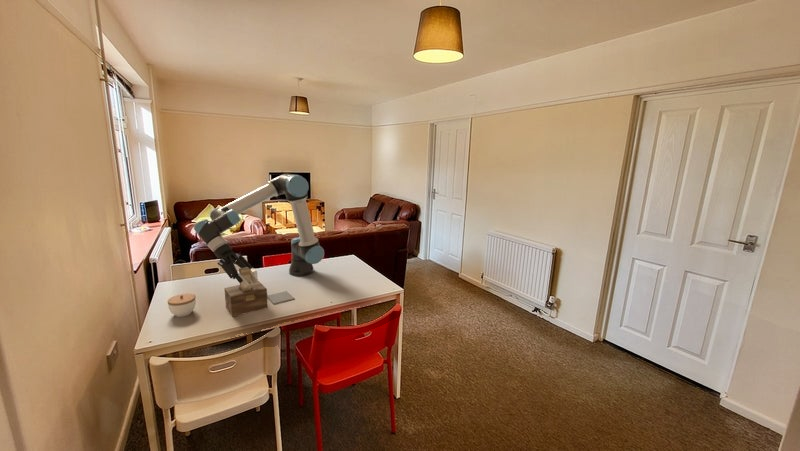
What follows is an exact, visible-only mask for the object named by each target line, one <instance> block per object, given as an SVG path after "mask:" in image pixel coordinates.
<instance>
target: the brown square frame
mask: <svg viewBox="0 0 800 451" xmlns="http://www.w3.org/2000/svg"><path fill="white" fill-rule="evenodd" d="M223 289H224V301H225V308H226V310H227V311H228V313H229V314H230V316H231V317H237V316H241V315H244V314H248V313H253V312H256V311H259V310H264V309H267V308H268V298H267V296H268V294H267V293H268V288H266V287H265V285H264V284H262V283H261V282H260V280H258V281H257V282H256V283H253V282H252V283H251V290H246V291H242V292H241V290H240V284H239V285H238V284H237V285H233V286H227V287H224V288H223Z"/></svg>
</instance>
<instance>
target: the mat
mask: <svg viewBox="0 0 800 451" xmlns="http://www.w3.org/2000/svg"><path fill="white" fill-rule="evenodd" d="M267 300H269V301H270V303H271V304H272V305H279V304H281V303H286V302H288V301H293V300H295V297H294V296H293V295H292V294H291V293H289V292H288V291H287V290H286V291H282V292H281V291H280V292H278V293H272V294H269V295H268V294H267Z"/></svg>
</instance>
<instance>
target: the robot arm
mask: <svg viewBox="0 0 800 451" xmlns="http://www.w3.org/2000/svg"><path fill="white" fill-rule="evenodd" d="M309 189H310V188H309V182H308V181H307V179H306V178H305V177H303V176H302V175H300V174H294V173H293V174H292V173H282V174H280V175H279V176H276V177H274V178H272V179H270V180H269V181H267V182H266V184H265V185H263V186H260V187H258V188H257V189H255V190H253V191H251V192H249V193H248V194H246V195H243V196H241V197H239V198H237V199H235V200H234V201H232V202H229V203H228V204H226V205H223V206H221V207H218V208H217V207H216V208H214V209H212V210H211V211H210V212H209V218H210V219H211V220H209V219H208V218H207V219H201V220H199V221H198V222H197V223H195V224H194V226H193V230H194V231H195V233H196V235H198V237H199V238H200V239H201V240H202V241H203V242H204V244H205V245H206V246H207V247H208V248H209V249H210V250H211V251H212V252H213V254H214V255H215V256H216V257H217V259H220V260H218V261H217V265H219V267H221V268H222V270H223V271H224V272H225V273H226V275H227V276H228V277H229V279H233V280H236V281H237V282H238V283H239V284H240V283H241V284H242V285H243V286H244V287H245V288H247V287H248V286H249V285H250V284H249V283H248V282H247V281H246V280H245V279H244V277H243V276H242V275H241V274H240V275H239V271H238V270H237V267H239V268H245V267H248V268H249V269H250V275H251V280H252V282H253V283H256V282H257V281H259V279H258V277H257V278H256V277H255V275H254V273H253V272H252V271H251V268H253V266H252V264H251V263H250V262H249V261H248V260H247V259H246V258H245V256H243V254H242V252H241V251H240V252H238V253H236V252H234V251H233V247H232V246H231V245H230V244H229V243H228V241H227V240H226V238H224V237H223V236H222V235H221V234H222V233H224V232H226V231H227V230H229V229H231V228H232V227H234V226H236V225H237V224H238V223H240V222H241V217H240V215H241V214H243V213H245V212H246V211H248V210H250V209H252V208H254V207H256V206H258V205H260V204H261V203H263V202H265V201H268V200H269V199H271V198H274V197H279V196H281V195H285V199H286V201H287V202H289V204H290V206H291V210H292V213H293V218H294V220H295V221H294V222H295V224H296V229H297V232H298V236H297V237H293V238H291V243H290V246H291V247H290V248H291V262H290V265H289V270H288V274H289V275H291V276H294V277H304V276H309V275H311V274H313V273H315V272H314V266H313V265H316V264H318V263H320V262H322V260H323V258H324V256H325V250H324V248H323V247H322V246H321V245H320V242H319V238H317V237H315V231H314V228H313V227H314V226H313V224H312V220H311V216H310V211H309V207H308V204H307V199H308V196H309V195H308V191H309ZM235 265H236V266H237V267H236V266H235Z"/></svg>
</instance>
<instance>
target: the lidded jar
mask: <svg viewBox="0 0 800 451" xmlns="http://www.w3.org/2000/svg"><path fill="white" fill-rule="evenodd" d="M196 299H197V298H196V295H195V294H193V293H181V294H177V295H173V296H171V297H170V298H168V299H167V305H168V310H169V311H170V313H171V314H172V315H174V316H175V317H177V318H181V317H186V316H190V314H192V312H193V311H194V309H195V307H196V302H197V301H196Z"/></svg>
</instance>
